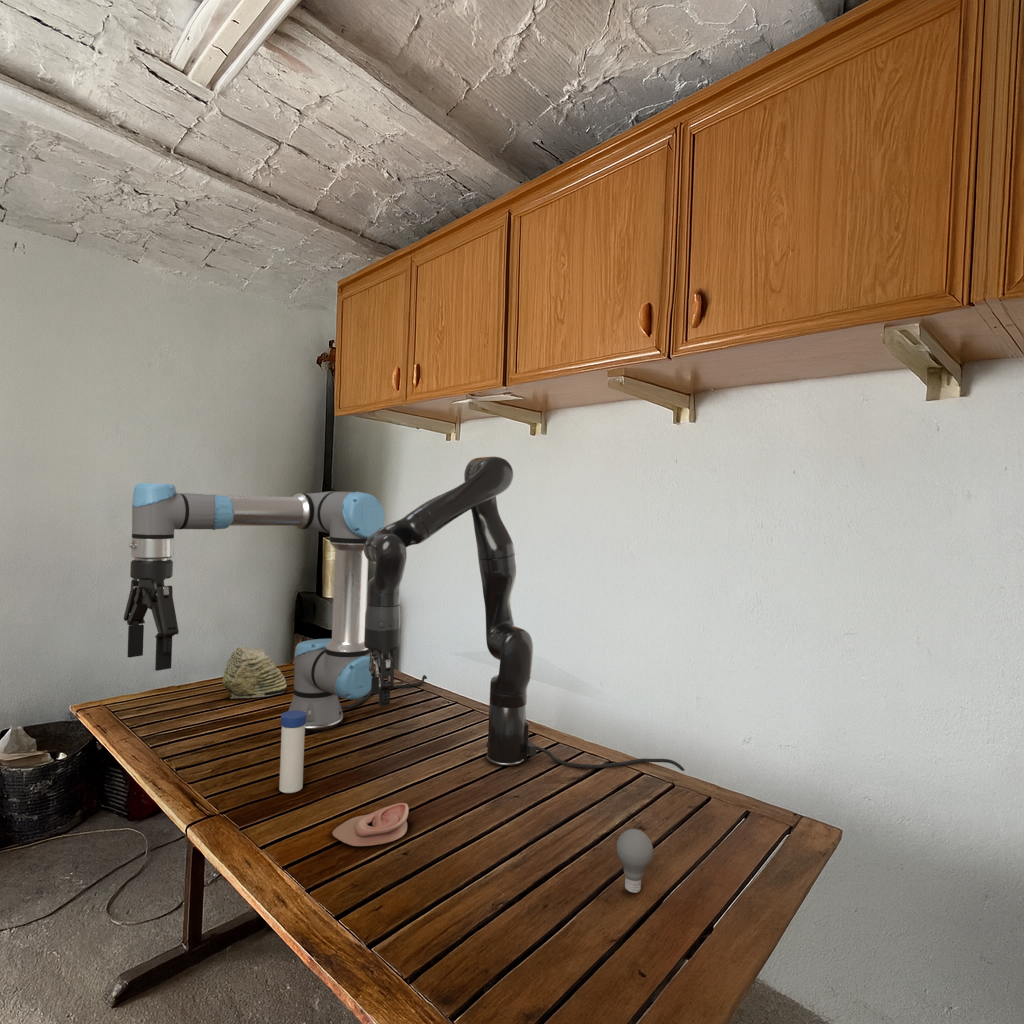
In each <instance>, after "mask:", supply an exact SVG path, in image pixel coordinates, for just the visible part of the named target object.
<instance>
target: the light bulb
mask: <svg viewBox="0 0 1024 1024" xmlns="http://www.w3.org/2000/svg"><path fill="white" fill-rule="evenodd" d="M615 849H616V854H617V857H618V859H619V861H620V863H621V865H622V867H623V873H624V874H623V875H624V876H625V878H624V888H625V890H627V891H628V892H630V893H634V894H635V893H639V892H640V891H641V889H642V887H641V886H642V879H643V877H644V875H645V871H646V868H647V867H648V866H649V864H650V863H651V861H652V859H653V855H654V847H653V843H652V841H651V838H649V836H648V835H647V834H646V833H645V832H643V831H642V830H641V829H636V828H629V829H627V830H625V831H623V832H622V833H621V834H620V835H619V837H618V839H617V841H616V847H615Z"/></svg>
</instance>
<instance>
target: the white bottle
mask: <svg viewBox="0 0 1024 1024" xmlns="http://www.w3.org/2000/svg"><path fill="white" fill-rule="evenodd" d="M280 732H281V733H280V734H281V735H280V757H279V758H280V760H279V786H278V789H279V792H282V793H284V794H293V793H296V792H297V793H298V792H300V791H301V790H302V789H303V787H304V786H303V785H304V762H305V761H304V760H305V737H306V736H305V735H306V732H305V725H303V726H300V727H295V728H287V727H283V726H281V731H280Z"/></svg>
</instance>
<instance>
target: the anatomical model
mask: <svg viewBox="0 0 1024 1024" xmlns="http://www.w3.org/2000/svg"><path fill="white" fill-rule="evenodd" d="M409 810H410V809H409V805H408V803H406V802H399V803H395V804H391V805H387V806H384V807H382V808H380V809H377V810H375V811H373V812H370V813H368V814H365V815H359V816H355V817H352V818H350V819H347V820H346V821H343V822H342V823H340V824H339V825H338V826H336V828H334V829H333V830H332V836H333V837H334V838H335V839H336V840H338V841H341V842H342V843H344V844H346V845H349V846H352V847H369V846H379V845H383V844H387V843H391V842H394V841H396V840H399V839H400V838H402V837H404V835H406V833H407V831H408V822H407V820H408V817H409Z"/></svg>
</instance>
